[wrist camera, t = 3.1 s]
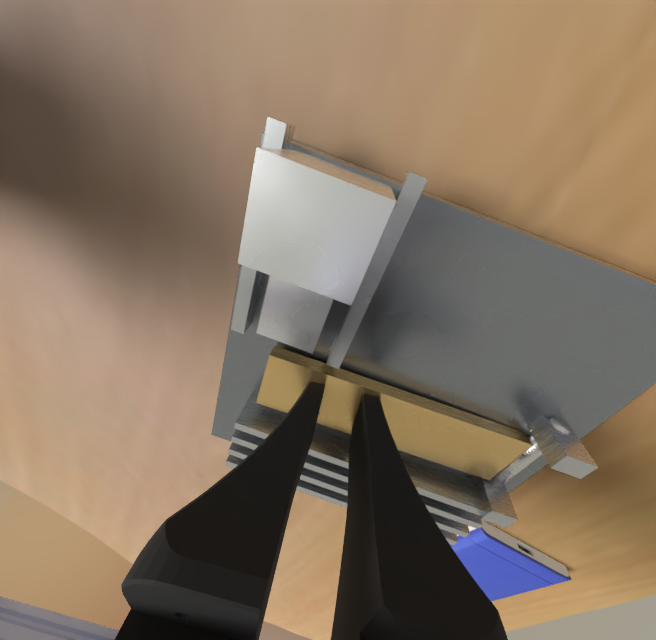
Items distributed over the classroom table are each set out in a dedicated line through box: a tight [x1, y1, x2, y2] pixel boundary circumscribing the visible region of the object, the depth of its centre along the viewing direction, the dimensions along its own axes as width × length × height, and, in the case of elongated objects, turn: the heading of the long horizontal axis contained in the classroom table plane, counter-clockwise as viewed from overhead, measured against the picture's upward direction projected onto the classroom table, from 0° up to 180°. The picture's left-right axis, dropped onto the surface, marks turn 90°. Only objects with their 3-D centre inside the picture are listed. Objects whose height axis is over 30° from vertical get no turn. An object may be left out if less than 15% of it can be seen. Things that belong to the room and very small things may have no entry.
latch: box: [238, 147, 396, 354], centre depth 8 cm, size 3×5×3 cm, turn 161°
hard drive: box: [450, 520, 571, 601], centre depth 22 cm, size 2×8×12 cm
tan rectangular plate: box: [256, 346, 532, 480], centre depth 12 cm, size 11×3×1 cm, turn 71°
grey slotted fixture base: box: [212, 117, 656, 545], centre depth 12 cm, size 15×15×4 cm
